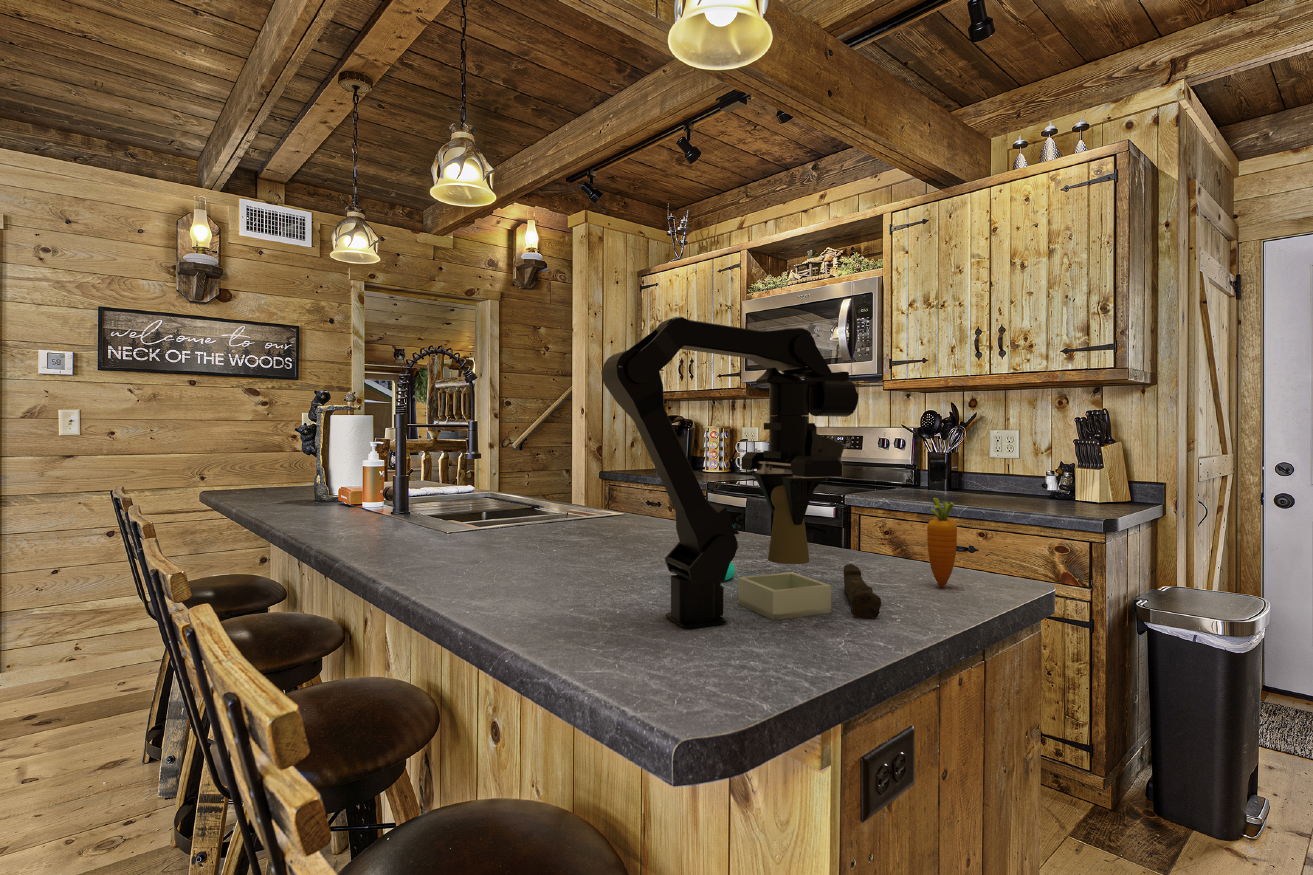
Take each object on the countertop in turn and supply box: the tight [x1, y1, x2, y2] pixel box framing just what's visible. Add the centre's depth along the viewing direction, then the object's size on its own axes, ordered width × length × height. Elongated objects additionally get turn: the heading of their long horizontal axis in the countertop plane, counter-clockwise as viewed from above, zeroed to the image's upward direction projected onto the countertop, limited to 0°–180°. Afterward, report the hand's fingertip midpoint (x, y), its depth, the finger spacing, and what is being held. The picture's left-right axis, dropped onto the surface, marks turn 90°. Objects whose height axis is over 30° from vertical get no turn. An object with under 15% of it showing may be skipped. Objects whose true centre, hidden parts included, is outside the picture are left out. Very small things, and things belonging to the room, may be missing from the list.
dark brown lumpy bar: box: [843, 563, 882, 620], centre depth 105 cm, size 19×4×5 cm, turn 169°
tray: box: [737, 571, 832, 621], centre depth 101 cm, size 10×10×4 cm
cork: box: [767, 485, 810, 565], centre depth 100 cm, size 6×6×11 cm
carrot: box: [926, 497, 958, 589], centre depth 114 cm, size 5×5×15 cm
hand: (788, 522), depth 100 cm, fingers closed on cork, 5 cm apart
